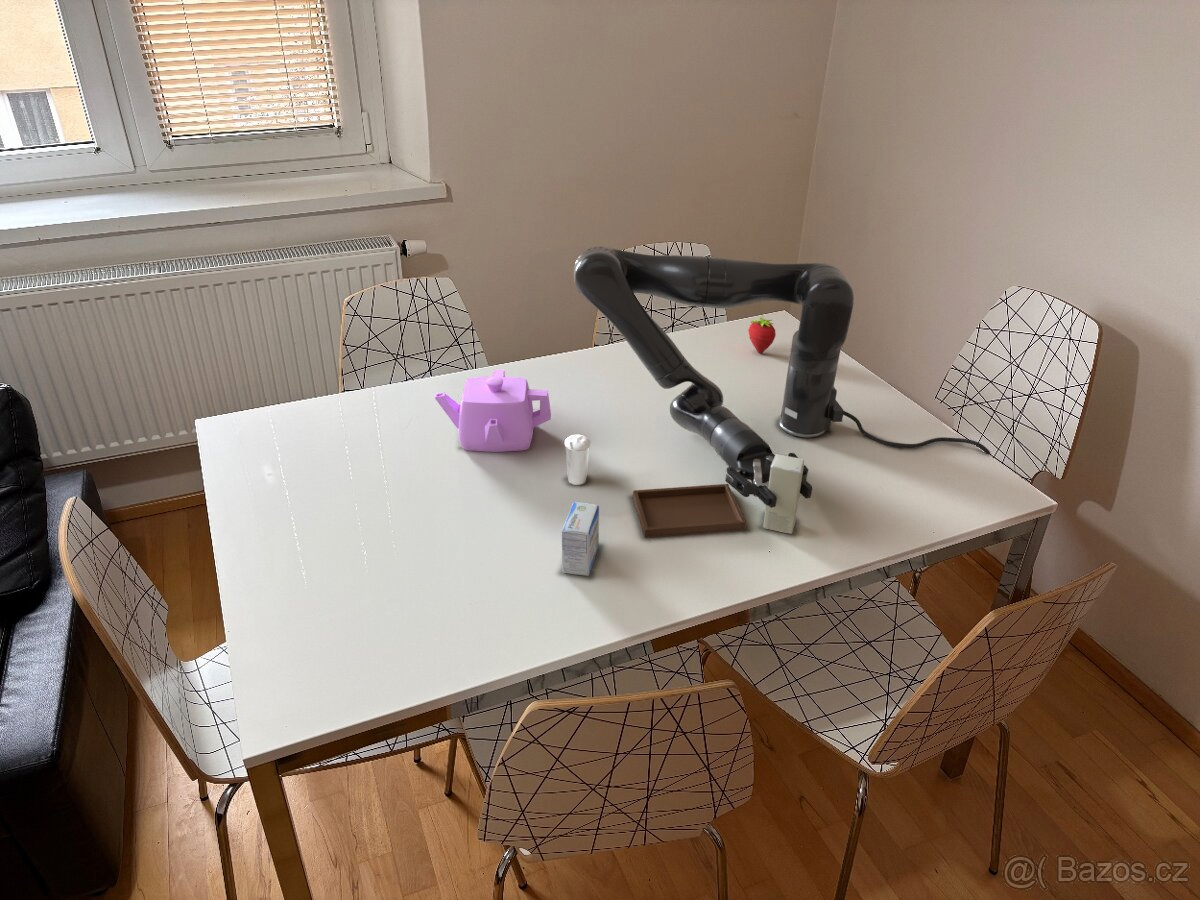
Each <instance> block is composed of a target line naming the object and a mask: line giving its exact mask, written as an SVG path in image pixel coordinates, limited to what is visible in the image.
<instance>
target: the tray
mask: <svg viewBox="0 0 1200 900" xmlns="http://www.w3.org/2000/svg"><path fill="white" fill-rule="evenodd" d="M632 502H633V505H634V508H635V511H636V515H637V518H638V522H639V525H640V528H641V531H642V534H643V538H644V539H647V538H661V537H672V536H673V537H674V536H686V535H687V536H688V535H700V534H713V533H725V532H740V531H745V530H746V523H747V522H746V520H745V517H744V515H743V513H742V510H741V509H740V506H739V505H738V503H737V500H736V498H735V495H734V493H733V491H732V489H731V487H730V484H728V483H719V484H707V485H706V484H705V485H692V486H678V487H663V488H649V489H647V488H646V489H636V490H635V489H634V490H632Z"/></svg>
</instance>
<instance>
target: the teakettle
mask: <svg viewBox="0 0 1200 900" xmlns="http://www.w3.org/2000/svg"><path fill="white" fill-rule="evenodd" d="M434 399H435V401H436V403H438V405H439V406H440V407H441V409H442V410H443V411H444V413H445V414H446V415H447V416H448V417H447V418H449V419H450V421H451V422H452V424H453V425H454V426H455V428H456V429H458V440H459V443H460V446H461V448H462V450H465V451H470V452H471V451H472V452H487V453H492V452H493V453H494V452H495V453H503V452H505V453H506V452H521V451H526V450H529V449H530V446H531V444H532V440H533V435H534V434H533V433H534V429H535V428H536V427H538V426H540V425H543V424H544V423H546V422H549V421H551V419H552V409H551V404H550V395H549V390H548V389H530V386H529V383H528V380H527V378H524V377H518V376H506V372H505V369H493V371H492V375H491V376H474V377H468V378H466V381H465V383H464V387H463V391H462V396H461V402H460V404H459V403H458V402H457V401H455V400H454V399H453V398H452V397H450V396H449V395H447V393H446V392H437V393H435V395H434ZM533 401H539V409H538V410H535V411H534V405H533Z"/></svg>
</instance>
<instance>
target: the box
mask: <svg viewBox="0 0 1200 900" xmlns="http://www.w3.org/2000/svg"><path fill="white" fill-rule="evenodd" d="M774 454H775V453H774ZM804 465H805V459H804V458H801V457H800V458H799V457H798V458H795V457H789V456H788V455H783V454H778V453H776V454H775V457H774V459H773V461H772V464H771V470H770V479H769V482H768V489H769V490H770V491H771V492H772V493H773V494H774V495H775V496H776V497H777V501H776V506H775V507H773V508H770V507H769V505H768V506H767V505H765V512H764V518H763V529H766V530H771V531H776V532H778V533H779V532H780V533H785V534H789V535H792V534H793V532H794V529H795V525H796V521H797V520H796V519H797V514H798V513H797V512H798V506H799V500H800V495H801V494H800V487H801V481H802V474H803V467H804Z"/></svg>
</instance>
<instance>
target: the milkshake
mask: <svg viewBox="0 0 1200 900" xmlns="http://www.w3.org/2000/svg"><path fill="white" fill-rule="evenodd" d="M590 449H591V440H590V439H589V438H588V437H587V436H586V435H584V434H583V435H582V434H571V435H569V436H568V437H567V438H565V440H564V450H565V459H566V471H567V481H568V482H569V484H571V485H573V486H580V485H584V484H585V483H586V481H587V478H588V477H587V476H588V468H589V467H588V466H589V457H590Z"/></svg>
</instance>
